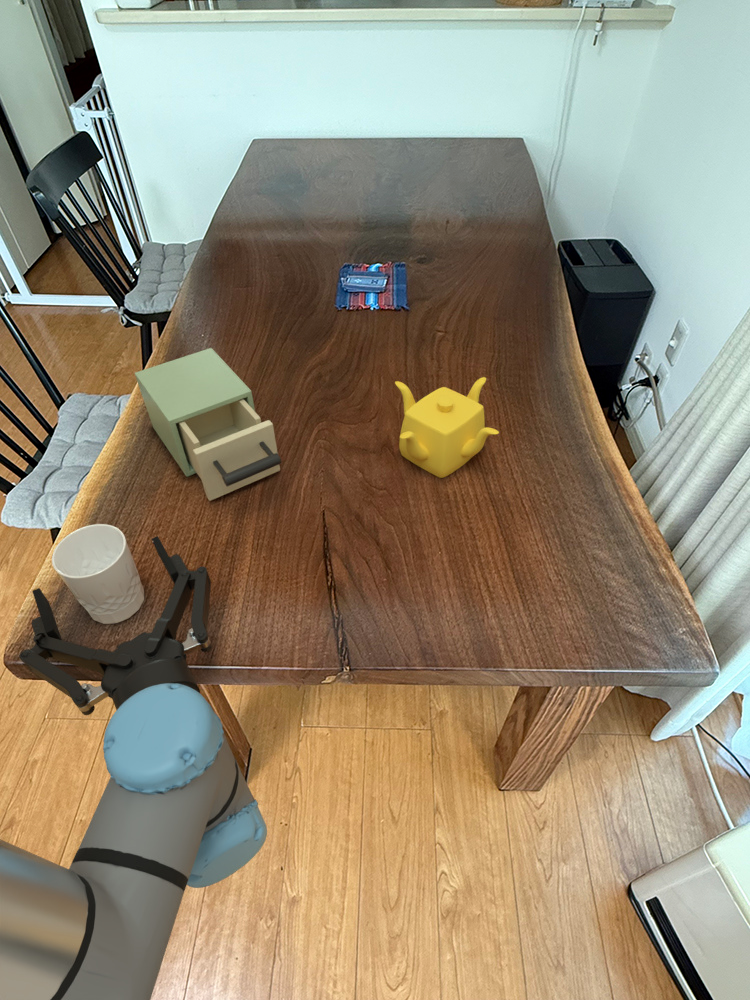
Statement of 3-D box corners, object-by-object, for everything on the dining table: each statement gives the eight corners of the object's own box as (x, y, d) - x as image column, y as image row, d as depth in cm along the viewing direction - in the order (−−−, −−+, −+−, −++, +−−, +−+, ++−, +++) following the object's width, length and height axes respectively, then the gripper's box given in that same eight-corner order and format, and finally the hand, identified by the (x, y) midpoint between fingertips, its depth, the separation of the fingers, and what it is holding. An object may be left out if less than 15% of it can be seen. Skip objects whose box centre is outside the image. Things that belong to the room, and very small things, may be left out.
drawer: (296, 489, 87) (290, 442, 80) (224, 522, 82) (211, 475, 76) (241, 424, 97) (232, 378, 91) (174, 450, 93) (159, 404, 87)
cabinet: (261, 446, 95) (251, 390, 87) (186, 477, 90) (168, 421, 82) (223, 401, 103) (211, 347, 96) (153, 427, 98) (134, 372, 91)
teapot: (398, 484, 88) (400, 432, 82) (391, 425, 98) (392, 375, 92) (495, 480, 89) (505, 428, 82) (479, 421, 99) (486, 371, 92)
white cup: (69, 616, 73) (35, 565, 65) (112, 568, 78) (85, 516, 71) (122, 637, 70) (93, 586, 63) (162, 587, 76) (140, 534, 68)
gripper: (45, 804, 55) (1, 639, 68) (284, 667, 65) (207, 544, 78) (9, 773, 50) (-31, 600, 63) (275, 629, 60) (194, 504, 72)
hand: (101, 569), depth 70 cm, fingers open, 13 cm apart
